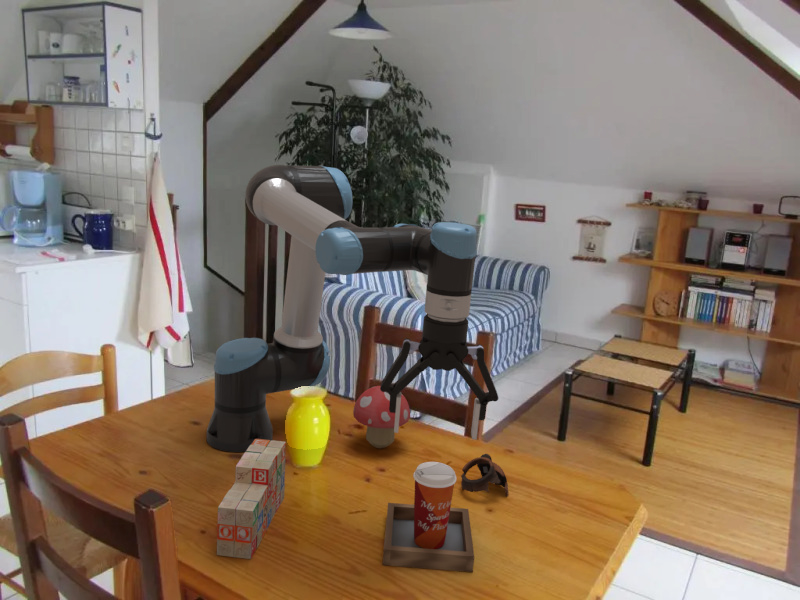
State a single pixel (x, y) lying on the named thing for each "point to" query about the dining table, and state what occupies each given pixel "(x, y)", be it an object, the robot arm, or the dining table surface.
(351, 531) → the dining table surface
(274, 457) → the stack of blocks
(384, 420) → the decorative mushroom
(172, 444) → the dining table surface
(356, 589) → the dining table surface
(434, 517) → the paper cup
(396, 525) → the tray
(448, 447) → the dining table surface
